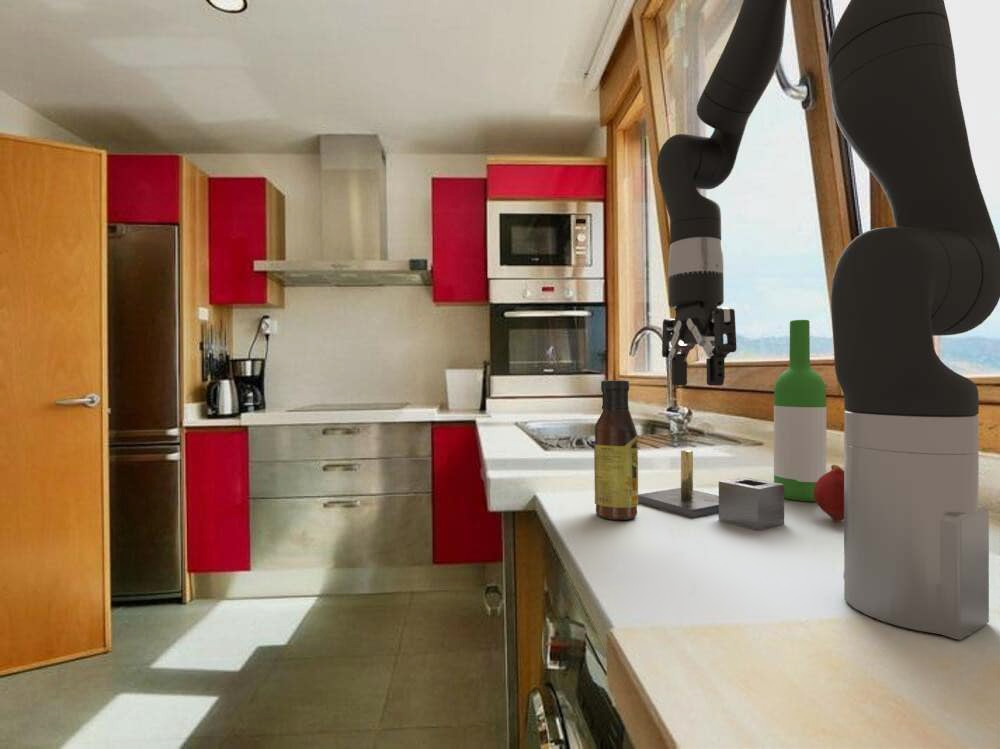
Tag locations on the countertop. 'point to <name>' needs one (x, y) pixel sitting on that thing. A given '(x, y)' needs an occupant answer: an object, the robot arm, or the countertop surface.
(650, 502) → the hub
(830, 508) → the onion
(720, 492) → the collar
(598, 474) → the sauce bottle
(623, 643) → the countertop surface
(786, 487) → the wine bottle
